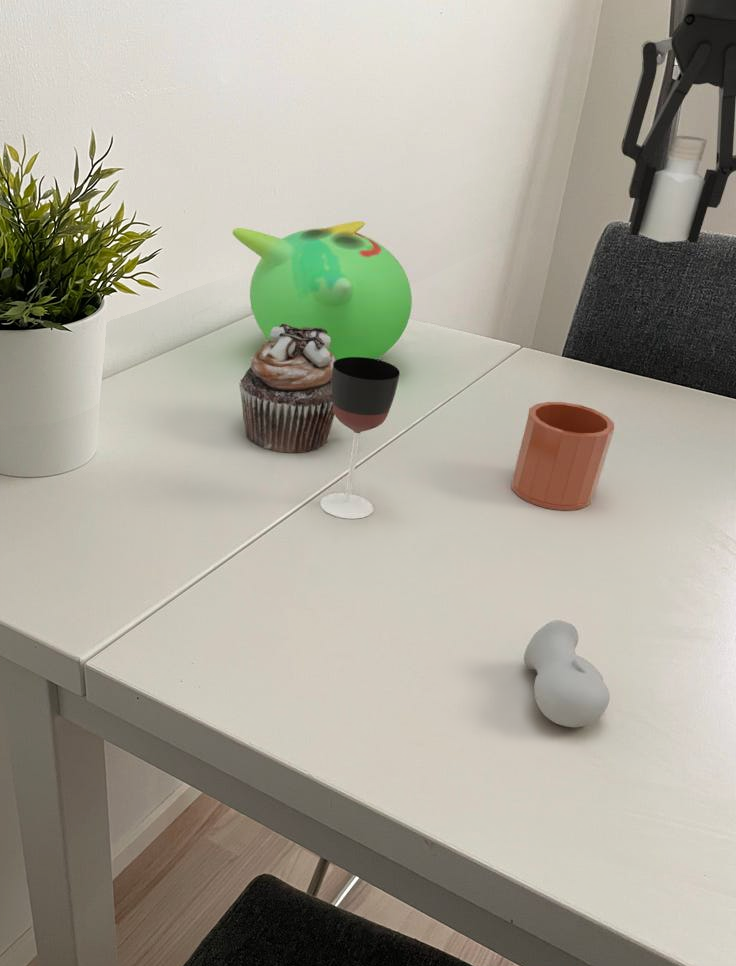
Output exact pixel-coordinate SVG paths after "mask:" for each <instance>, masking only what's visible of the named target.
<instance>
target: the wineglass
mask: <svg viewBox="0 0 736 966" xmlns="http://www.w3.org/2000/svg"><path fill="white" fill-rule="evenodd" d="M400 375H401V371H400V369H399V368H398V367H397V366H395V365H393V364H392V363H389V362H387V361H384V360H380V359H371V358H364V357H347V358H341V359H338V360H336V361H335V362H334V363H333V372H332V402H333V410H334V414H335V415H334V417H335V418H336V419H337V420H338V421H339V422H340V423H341V424H342V425H343V426H345V427H347V428H348V429H349V430H351V431H353V438H352V440H353V441H352V445H351V453H350V460H349V467H348V474H347V480H346V488H345V493H343V492H342V493H341V492H340V493H339V492H338V493H337V492H335V493H330V494H327V495H325V496H323V497H322V498H321V499H320V502H319V505H320V508H321V509H322V510H323V511H324V512H325V513H327V514H329V515H331V516H334V517H337V518H341V519H347V520H348V519H350V520H352V519H353V520H354V519H356V520H357V519H361V518H366V517H368V516H369V515H371V514H372V513H373V512H374V511H373V510H374V506H373V505H372V503H371V502H370V501H368V499H366V498H364V497H362V496H359V495H356V494H352V490H353V482H354V476H355V469H356V463H357V455H358V449H359V443H360V442H359V441H360V437H361V436H360V435H361V433H362V432H365V431H371V430H373V429H375V428H378V427H379V426H381V425H382V424H383V423H384V422H385V421H386V419H387V417H388V415H389V412H390V410H391V408H392V405H393V402H394V399H395V395H396V392H397V387H398V384H399V379H400Z"/></svg>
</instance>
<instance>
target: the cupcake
mask: <svg viewBox="0 0 736 966" xmlns="http://www.w3.org/2000/svg"><path fill="white" fill-rule="evenodd" d="M270 339H271V341H269V342H267V343H265V344H263V345H262V346H261V347H259V351H257V352H256V353H254V355H253V356H252V358H251V360H250V367H249V368H248V369H247V370H246V372H245V374H244V375H243V377H242V378H241V379H240V382H239V383H238V384H239V385H238V386H239V387H238V388H239V392H240V399H241V407H242V418H243V425H244V430H245V436H246V437H247V439H249V441H250V442H252V443H254V444H255V445H257V446H258V447H261V448H263V449H266V450H270V451H274V452H280V453H286V454H287V453H292V454H293V453H309V452H311V451H316V450H319V448H321V447H324V445H325V444H326V443H327V442H328V439H329V435H330V431H331V427H332V424H333V422H334V418H335V414H334V410H333V402H332V372H333V363H334V362H335V361H336V358H335V356H334V355H333V354H332V353H331V352H330V351H328V350H329V346H330V342H331V338H330V337H329V336H328V335H327V330H325V329H322V328H308V327H303V328H294V327H291V326H289V325H287V324H281V325H280V327H273V328H272V330H271V333H270Z"/></svg>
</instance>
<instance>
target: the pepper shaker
mask: <svg viewBox="0 0 736 966" xmlns="http://www.w3.org/2000/svg"><path fill="white" fill-rule="evenodd" d="M706 145H707V139H705V138H702V137H697V136H690V135H674V136H673V139H672V141H671V145H670V146H671V147H670V150H669V153H668V155H667V157H668V159H667V162H666V166H665V168H664V169H662V170H658V171H656V172H655V175H654V179H653V183H652V186H651V190H650V193H649V197H648V201H647V204H646V208H645V212H644V215H643V219H642V223H641V226H640V230H639V234H638V235H640V236H642V237H645V238H648V239H651V240H653V241H656V242H659V243H673V242H675V243H676V242H684V241H687V240H688V237H689V235H690V232H691V228H692V225H693V222H694V218H695V215H696V212H697V208H698V205H699V202H700V198H701V195H702V192H703V188H704V185H705V180H704V176H701V175H700V174H698V170H699V166H700V163H701V162H702V159H703V156H704V152H705V149H706Z"/></svg>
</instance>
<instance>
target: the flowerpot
mask: <svg viewBox="0 0 736 966" xmlns="http://www.w3.org/2000/svg"><path fill="white" fill-rule="evenodd" d="M614 431H615V422H614V421H613V420H612V419H611V418H610V417H609V416H608V415H606V414H604V413H603V412H600V411H598V410H596V409H594V408H590V407H587V406H585V405H581V404H576V403H571V402H564V401H545V402H540V403H536V404H533V405H532V406H531V407H529V409H528V411H527V415H526V420H525V423H524V428H523V433H522V436H521V440H520V445H519V449H518V453H517V455H516V456H517V457H516V460H515V465H514V468H513V472H512V478H511V481H510V487H511V489H512V491H513V493H515V494H516V495H517V496H518V497H519V498H521V499H522V500H524V501H526V502H528V503H530V504H533V505H535V506H538V507H542V508H545V509H550V510H556V511H577V510H580V509H584V508H587V507H588V506H589V505H590V504H591V503H592V501H593V498H594V497H595V494H596V491H597V487H598V484H599V481H600V477H601V474H602V471H603V467H604V464H605V461H606V458H607V454H608V452H609V449H610V445H611V442H612V438H613V435H614Z"/></svg>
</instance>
